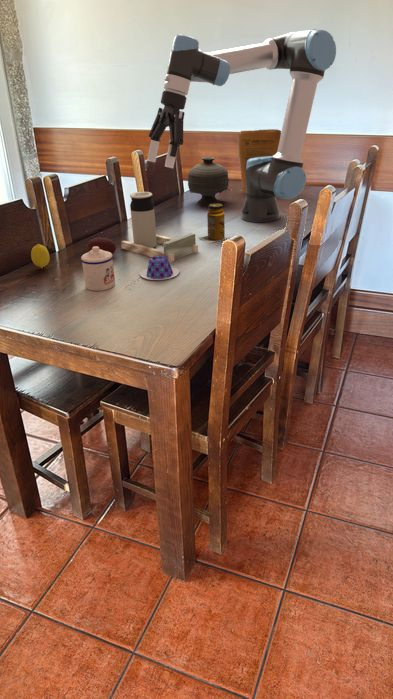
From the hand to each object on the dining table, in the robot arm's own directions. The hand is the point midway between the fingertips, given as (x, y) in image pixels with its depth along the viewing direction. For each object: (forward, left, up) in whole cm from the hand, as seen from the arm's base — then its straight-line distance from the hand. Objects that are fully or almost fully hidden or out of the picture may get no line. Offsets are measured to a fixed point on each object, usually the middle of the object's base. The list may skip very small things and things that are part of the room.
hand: (159, 164), depth 169 cm
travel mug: (+8, -1, -28) cm, 29 cm away
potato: (+18, +11, -28) cm, 35 cm away
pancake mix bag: (-16, -85, -28) cm, 91 cm away
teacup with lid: (+7, +34, -28) cm, 45 cm away
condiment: (-14, -14, -28) cm, 34 cm away
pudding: (-7, +23, -28) cm, 37 cm away
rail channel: (+1, +2, -28) cm, 28 cm away
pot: (+2, -63, -28) cm, 69 cm away
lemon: (+32, +26, -28) cm, 50 cm away
